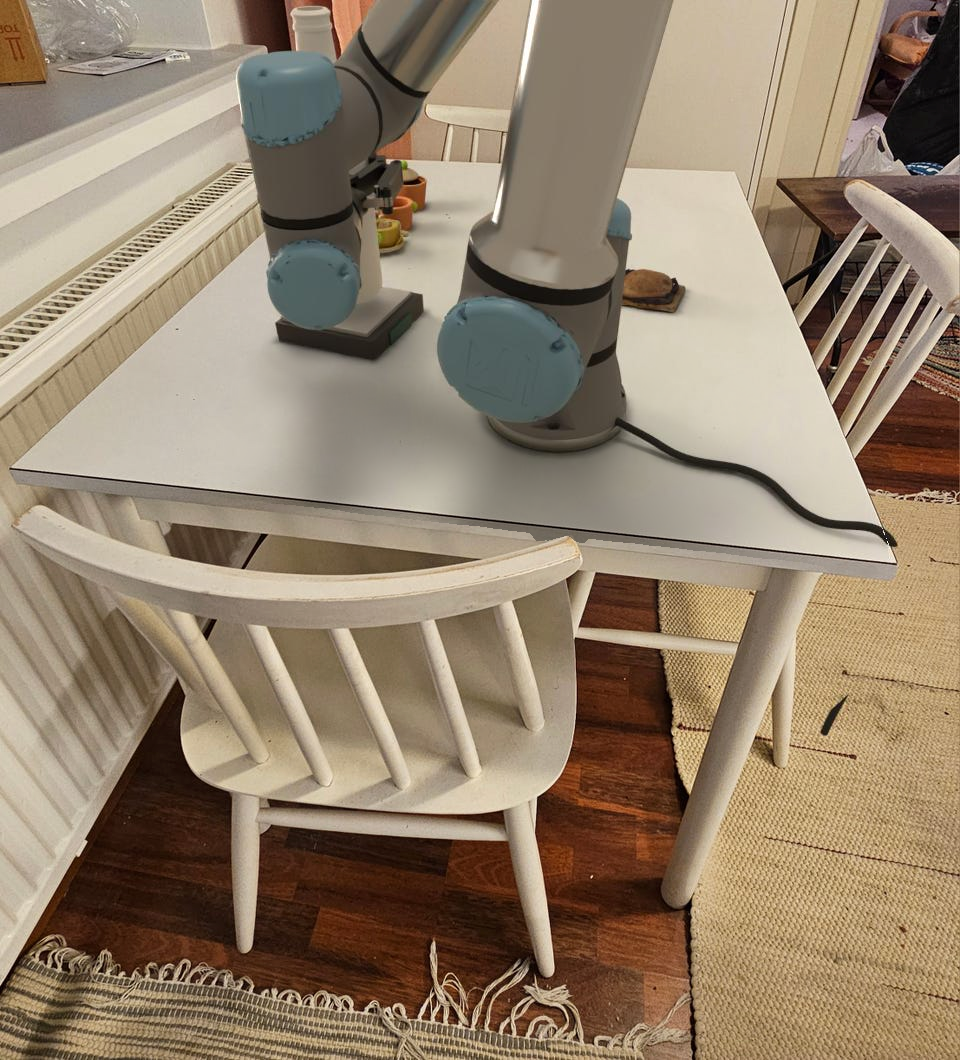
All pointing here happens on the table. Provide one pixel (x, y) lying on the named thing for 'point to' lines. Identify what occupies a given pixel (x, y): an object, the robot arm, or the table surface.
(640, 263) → the table surface
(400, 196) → the toy tea set
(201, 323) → the table surface
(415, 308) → the scale
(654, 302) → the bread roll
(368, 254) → the white bottle
